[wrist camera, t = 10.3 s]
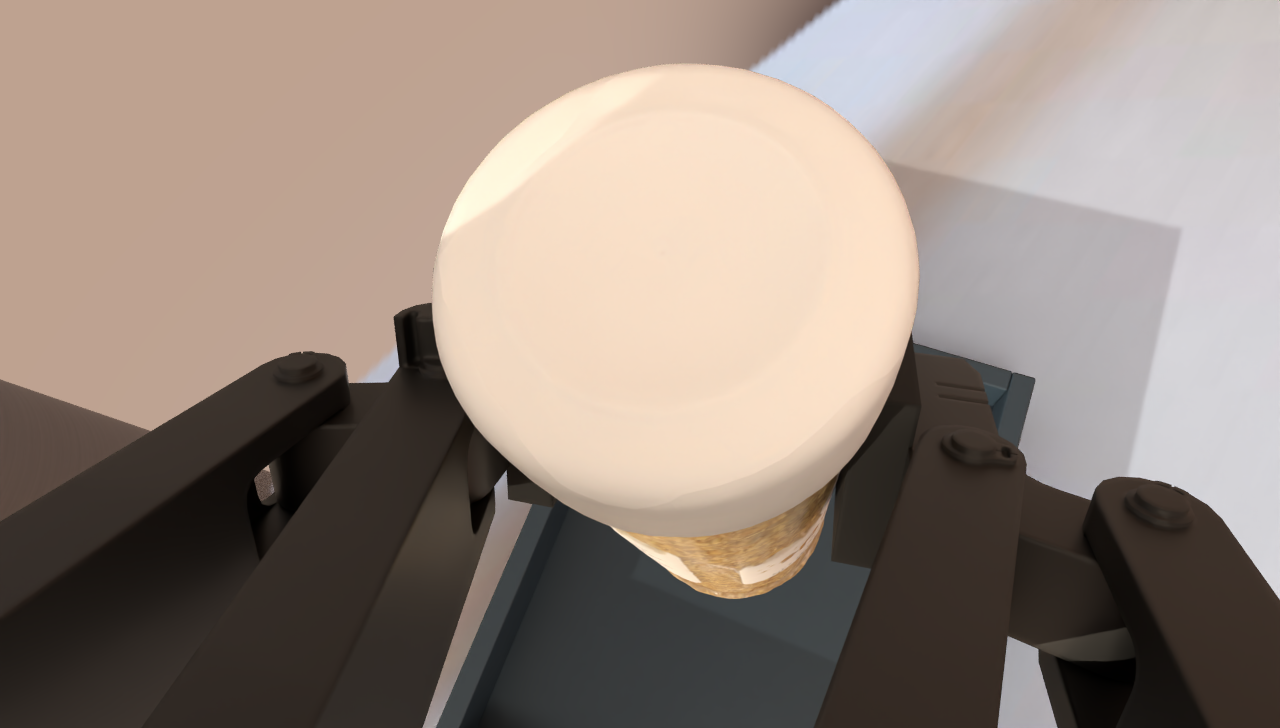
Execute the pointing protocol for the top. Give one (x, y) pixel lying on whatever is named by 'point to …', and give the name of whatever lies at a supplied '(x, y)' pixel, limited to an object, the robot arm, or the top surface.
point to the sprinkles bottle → (681, 311)
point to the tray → (663, 627)
